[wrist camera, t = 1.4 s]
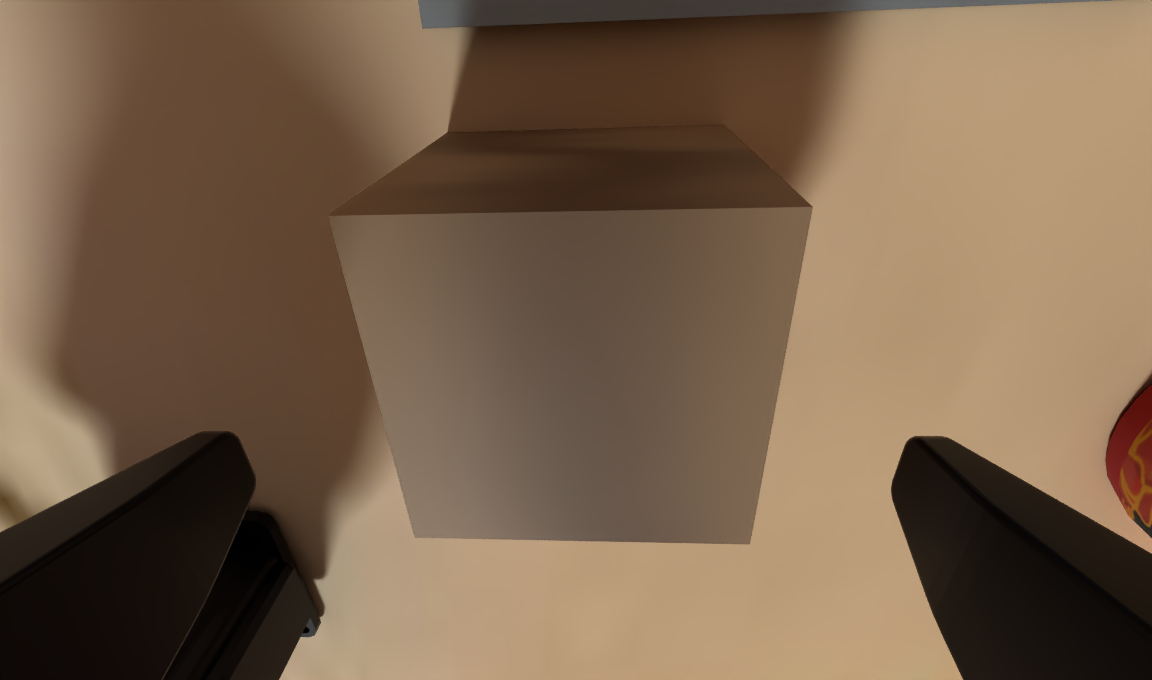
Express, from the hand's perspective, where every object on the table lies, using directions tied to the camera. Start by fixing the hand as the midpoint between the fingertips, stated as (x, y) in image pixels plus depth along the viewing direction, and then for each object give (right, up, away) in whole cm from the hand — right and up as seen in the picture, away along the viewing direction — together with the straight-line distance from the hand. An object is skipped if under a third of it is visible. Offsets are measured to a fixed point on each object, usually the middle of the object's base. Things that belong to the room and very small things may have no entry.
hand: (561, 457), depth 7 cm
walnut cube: (0, +4, +6) cm, 7 cm away
